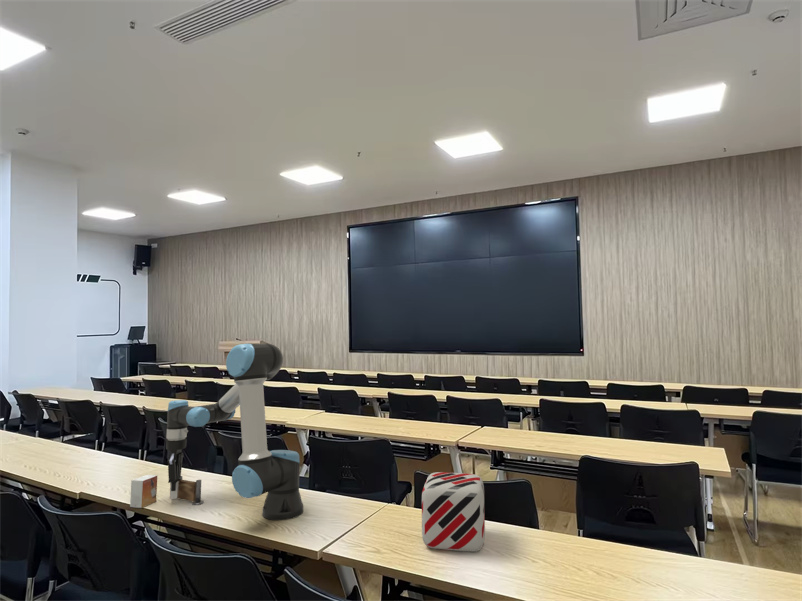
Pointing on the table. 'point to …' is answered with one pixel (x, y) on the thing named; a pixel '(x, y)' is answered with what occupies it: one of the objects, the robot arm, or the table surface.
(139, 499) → the small box
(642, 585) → the table surface
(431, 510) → the decorative cube
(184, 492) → the gate
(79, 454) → the table surface
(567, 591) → the table surface
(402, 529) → the table surface
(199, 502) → the pivot post
